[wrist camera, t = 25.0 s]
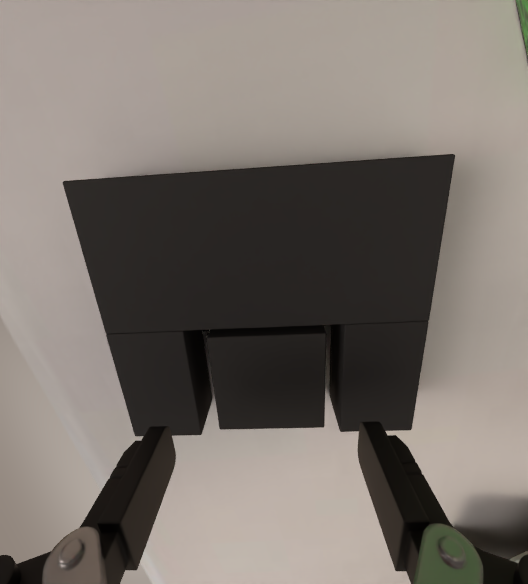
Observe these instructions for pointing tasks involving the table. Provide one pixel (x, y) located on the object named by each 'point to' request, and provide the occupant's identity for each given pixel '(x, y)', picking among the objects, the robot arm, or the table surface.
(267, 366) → the small black block
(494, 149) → the table surface
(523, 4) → the green jade tablet
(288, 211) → the black flat notched block
